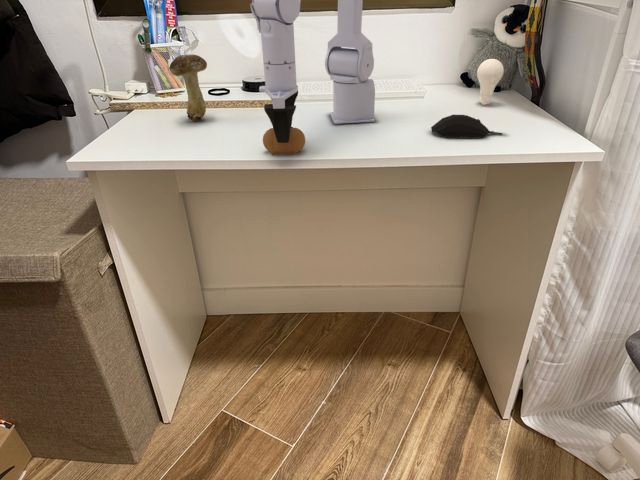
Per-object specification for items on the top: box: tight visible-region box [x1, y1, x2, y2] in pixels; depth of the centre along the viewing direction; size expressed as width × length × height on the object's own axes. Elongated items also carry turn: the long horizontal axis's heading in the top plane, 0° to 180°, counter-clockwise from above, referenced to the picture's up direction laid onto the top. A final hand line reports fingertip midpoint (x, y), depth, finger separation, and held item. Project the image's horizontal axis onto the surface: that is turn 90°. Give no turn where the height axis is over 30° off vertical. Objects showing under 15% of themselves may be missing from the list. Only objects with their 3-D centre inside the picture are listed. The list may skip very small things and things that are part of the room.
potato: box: [262, 126, 306, 155], centre depth 86 cm, size 8×5×5 cm, turn 90°
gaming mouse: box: [430, 114, 503, 139], centre depth 93 cm, size 6×15×4 cm, turn 83°
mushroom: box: [168, 53, 208, 122], centre depth 102 cm, size 9×9×15 cm
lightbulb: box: [476, 58, 505, 106], centre depth 109 cm, size 6×6×11 cm
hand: (284, 135), depth 86 cm, fingers open, 7 cm apart
